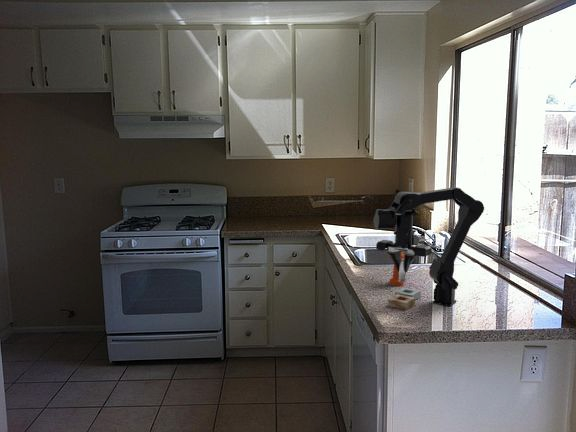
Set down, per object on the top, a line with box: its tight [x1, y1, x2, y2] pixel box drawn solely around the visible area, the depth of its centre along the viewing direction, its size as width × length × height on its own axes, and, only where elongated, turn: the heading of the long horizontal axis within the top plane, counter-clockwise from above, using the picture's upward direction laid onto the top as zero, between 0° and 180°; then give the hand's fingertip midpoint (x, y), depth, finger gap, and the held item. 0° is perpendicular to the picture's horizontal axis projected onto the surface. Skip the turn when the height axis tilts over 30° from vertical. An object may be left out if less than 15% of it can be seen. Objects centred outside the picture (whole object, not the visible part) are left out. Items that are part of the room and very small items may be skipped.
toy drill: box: [386, 248, 405, 287], centre depth 213 cm, size 5×19×15 cm, turn 12°
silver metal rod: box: [399, 259, 407, 283], centre depth 182 cm, size 2×2×8 cm
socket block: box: [387, 294, 416, 311], centre depth 184 cm, size 7×7×2 cm
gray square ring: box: [394, 287, 422, 301], centre depth 192 cm, size 7×7×2 cm
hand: (402, 271), depth 182 cm, fingers closed on silver metal rod, 2 cm apart
